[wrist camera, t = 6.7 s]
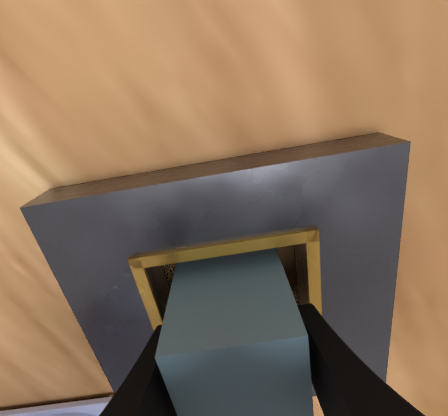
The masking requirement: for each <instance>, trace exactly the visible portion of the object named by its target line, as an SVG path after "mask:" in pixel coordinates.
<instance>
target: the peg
mask: <svg viewBox="0 0 448 416" xmlns="http://www.w3.org/2000/svg"><path fill="white" fill-rule="evenodd" d="M155 360H156V362H157V365H158V367H159V370H160V372H161V375H162V377H163V380H164V382H165V385H166V388H167V390H168V393H169V395H170V398H171V400H172V403H173V405H174V408H175V411H176V413H177V416H314V415H313V400H312V385H311V370H310V356H309V341H308V334H307V331H306V328H305V326H304V323H303V320H302V317H301V315H300V312H299V309H298V306H297V304H296V301H295V298H294V296H293V293H292V290H291V287H290V285H289V282H288V279H287V276H286V274H285V271H284V268H283V265H282V263H281V260H280V257H279V254H278V252H277V249H276V248H271V249H264V250H258V251H251V252H245V253H238V254H232V255H225V256H219V257H212V258H206V259H199V260H193V261H186V262H180V263H176V267H175V272H174V276H173V280H172V285H171V289H170V293H169V298H168V302H167V306H166V311H165V315H164V319H163V324H162V328H161V332H160V337H159V341H158V346H157V350H156V354H155Z"/></svg>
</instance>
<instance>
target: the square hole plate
mask: <svg viewBox="0 0 448 416" xmlns="http://www.w3.org/2000/svg"><path fill="white" fill-rule="evenodd" d="M410 143H411V142H410V141H406V140H403V139H400V138H396V137H393V136H389V135H386V134H383V133H374V134H368V135H362V136H356V137H350V138H345V139H339V140H333V141H327V142H321V143H315V144H310V145H304V146H298V147H292V148H286V149H280V150H275V151H269V152H263V153H257V154H251V155H245V156H240V157H234V158H228V159H222V160H216V161H210V162H205V163H199V164H193V165H187V166H181V167H175V168H170V169H164V170H158V171H152V172H146V173H140V174H135V175H129V176H123V177H117V178H111V179H105V180H100V181H94V182H88V183H82V184H76V185H70V186H65V187H59V188H53V189H49V190H48V191H46V192H44V193H43V194H41V195H39V196H38V197H36V198H35V199H33V200H31V201H30V202H28V203H27V204H25V205H23V206H22V207H20V209H21V211H22V213H23V215H24V217H25V219H26V221H27V223H28V225H29V227H30V229H31V231H32V233H33V235H34V237H35V239H36V241H37V243H38V245H39V246H40V248H41V250H42V252H43V254H44V256H45V258H46V260H47V262H48V264H49V266H50V268H51V270H52V272H53V274H54V276H55V278H56V280H57V282H58V283H59V285H60V287H61V289H62V291H63V293H64V295H65V297H66V299H67V301H68V303H69V305H70V307H71V309H72V311H73V313H74V315H75V317H76V319H77V321H78V322H79V324H80V326H81V328H82V330H83V332H84V334H85V336H86V338H87V340H88V342H89V344H90V346H91V348H92V350H93V352H94V354H95V356H96V358H97V360H98V361H99V363H100V365H101V367H102V369H103V371H104V373H105V375H106V377H107V379H108V381H109V383H110V385H111V387H112V389H113V391H114V393H116V391H117V390H118V388H119V387H120V385H121V384H122V383H123V381H124V380H125V378H126V377H127V375H128V373H129V372H130V370H131V369H132V367H133V365H134V364H135V362H136V361H137V359H138V358H139V356H140V354H141V353H142V351H143V349H144V348H145V346H146V344H147V342H148V341H149V339H150V337H151V335H152V334H153V332H154V330H155V329H156V327H157V326H158V325H162V324H163V319H164V315H165V311H166V306H167V302H168V298H169V293H170V287H169V284H168V281H167V277H166V274H165V271H164V268H163V265H167V264H173V263H180V262H186V261H193V260H199V259H206V258H212V257H219V256H225V255H232V254H238V253H245V252H251V251H258V250H264V249H271V248H277V247H284V246H290V245H295V257H296V270H297V284H298V297H299V305H302V304H309V303H312V304H313V305H314V306H315V307H316V309H317V310H318V311H319V313H320V314H321V315H322V317H323V318H324V319H325V320H326V322H327V323H328V324H329V325H330V326H331V328H332V329H333V330H334V331H335V332H336V333H337V334H338V336H339V337H340V338H341V339H342V340H343V341H344V342H345V343H346V344H347V345H348V347H349V348H350V349H351V350H352V351H353V352H354V353H355V354H356V355H357V356H358V357H359V358H360V359H361V360H362V361H363V362H364V363H365V364H366V365H367V366H368V367H369V368H370V369H371V370H372V371H373V372H374V373H375V374H376V375H378V376H379V377H380V378H381V379H382V380H383V381H384V382H385V383H386V375H387V365H388V355H389V346H390V336H391V326H392V317H393V307H394V297H395V288H396V278H397V268H398V259H399V249H400V239H401V230H402V220H403V210H404V201H405V191H406V181H407V172H408V162H409V152H410ZM311 385H312V382H311ZM312 396H317V395H316V393H315V390H314V387H313V385H312Z"/></svg>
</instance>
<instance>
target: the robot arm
mask: <svg viewBox="0 0 448 416" xmlns="http://www.w3.org/2000/svg"><path fill="white" fill-rule="evenodd" d="M297 306H298V309H299V312H300V315H301V317H302V320H303V323H304V326H305V328H306V331H307V334H308V341H309V356H310V370H311V382H312V385H313V387H314V390H315V393H316V395H317V398H318V400H319V403H320V406H321V408H322V411H323V414H324V416H425V415H424V414H422V413H421V412H420V411H418V410H417V409H416V408H415V407H413V406H412V405H411V404H410V403H409V402H407V401H406V400H405V399H404V398H403V397H401V396H400V395H399V394H398V393H397V392H395V391H394V390H393V389H392V388H391V387H390V386H389V385H388V384H386V383H385V382H384V381H383V380H382V379H381V378H380V377H379V376H378V375H376V374H375V373H374V372H373V371H372V370H371V369H370V368H369V367H368V366H367V365H366V364H365V363H364V362H363V361H362V360H361V359H360V358H359V357H358V356H357V355H356V354H355V353H354V352H353V351H352V350H351V349H350V348H349V347H348V345H347V344H346V343H345V342H344V341H343V340H342V339H341V338H340V337H339V336H338V334H337V333H336V332H335V331H334V330H333V329H332V328H331V326H330V325H329V324H328V323H327V322H326V320H325V319H324V318H323V317H322V315H321V314H320V313H319V311H318V310H317V309H316V307H315V306H314V305H313V304H312V303H309V304H302V305H297ZM161 328H162V325H158V326H157V327H156V329H155V330H154V332H153V334H152V335H151V337H150V339H149V341H148V342H147V344H146V346H145V348H144V349H143V351H142V353H141V354H140V356H139V358H138V359H137V361H136V362H135V364H134V365H133V367H132V369H131V370H130V372H129V373H128V375H127V377H126V378H125V380H124V381H123V383H122V384H121V385H120V387H119V388H118V390H117V391H116V393H115V394H114V396H112V397H104V398H96V399H89V400H81V401H73V402H66V403H58V404H50V405H43V406H35V407H28V408H20V409H12V410H5V411H0V416H177V413H176V411H175V408H174V405H173V403H172V400H171V398H170V395H169V393H168V390H167V388H166V385H165V382H164V380H163V377H162V375H161V372H160V370H159V367H158V365H157V362H156V360H155V354H156V350H157V346H158V341H159V337H160V332H161Z"/></svg>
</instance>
